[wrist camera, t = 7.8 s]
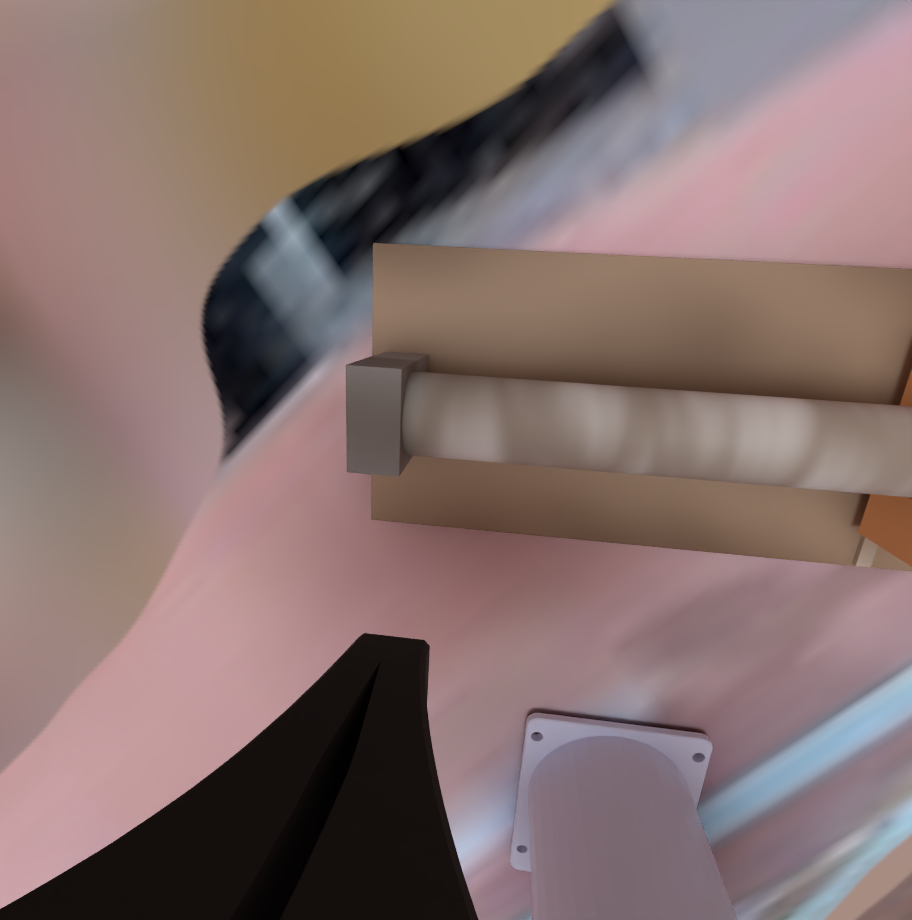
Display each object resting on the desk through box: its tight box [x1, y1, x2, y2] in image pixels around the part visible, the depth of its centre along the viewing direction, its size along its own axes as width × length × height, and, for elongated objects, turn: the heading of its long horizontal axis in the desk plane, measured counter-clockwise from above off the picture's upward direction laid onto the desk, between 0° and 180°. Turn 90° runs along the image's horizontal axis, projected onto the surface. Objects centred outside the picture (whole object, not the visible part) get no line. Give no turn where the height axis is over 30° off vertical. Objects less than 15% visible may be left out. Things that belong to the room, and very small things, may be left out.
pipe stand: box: [346, 243, 912, 571], centre depth 15 cm, size 10×26×6 cm, turn 87°
